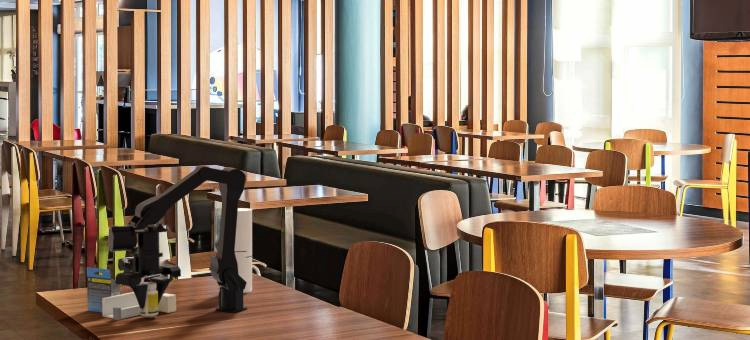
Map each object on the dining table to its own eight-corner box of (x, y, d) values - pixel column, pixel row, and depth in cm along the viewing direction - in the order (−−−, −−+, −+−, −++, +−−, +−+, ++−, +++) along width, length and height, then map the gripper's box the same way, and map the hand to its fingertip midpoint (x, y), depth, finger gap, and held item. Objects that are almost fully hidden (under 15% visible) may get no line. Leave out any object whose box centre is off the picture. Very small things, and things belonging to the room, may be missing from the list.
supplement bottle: (160, 312, 286) (160, 282, 285) (155, 316, 281) (154, 285, 280) (143, 312, 286) (142, 281, 286) (137, 316, 282) (137, 284, 281)
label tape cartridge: (120, 312, 291) (120, 267, 290) (111, 314, 288) (110, 269, 287) (96, 308, 295) (96, 264, 294) (86, 311, 292) (85, 266, 291)
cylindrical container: (225, 289, 324) (225, 208, 322) (247, 288, 327) (247, 207, 325) (232, 293, 318) (232, 211, 316) (255, 292, 321) (255, 210, 319)
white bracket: (180, 310, 294) (180, 292, 294) (127, 322, 278) (126, 303, 278) (154, 305, 300) (154, 287, 300) (100, 316, 284) (100, 298, 284)
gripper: (153, 242, 295) (154, 297, 296) (100, 250, 279) (101, 308, 280) (182, 246, 288) (182, 302, 289) (129, 254, 273) (130, 314, 274)
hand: (149, 306), depth 283 cm, fingers closed on supplement bottle, 5 cm apart
